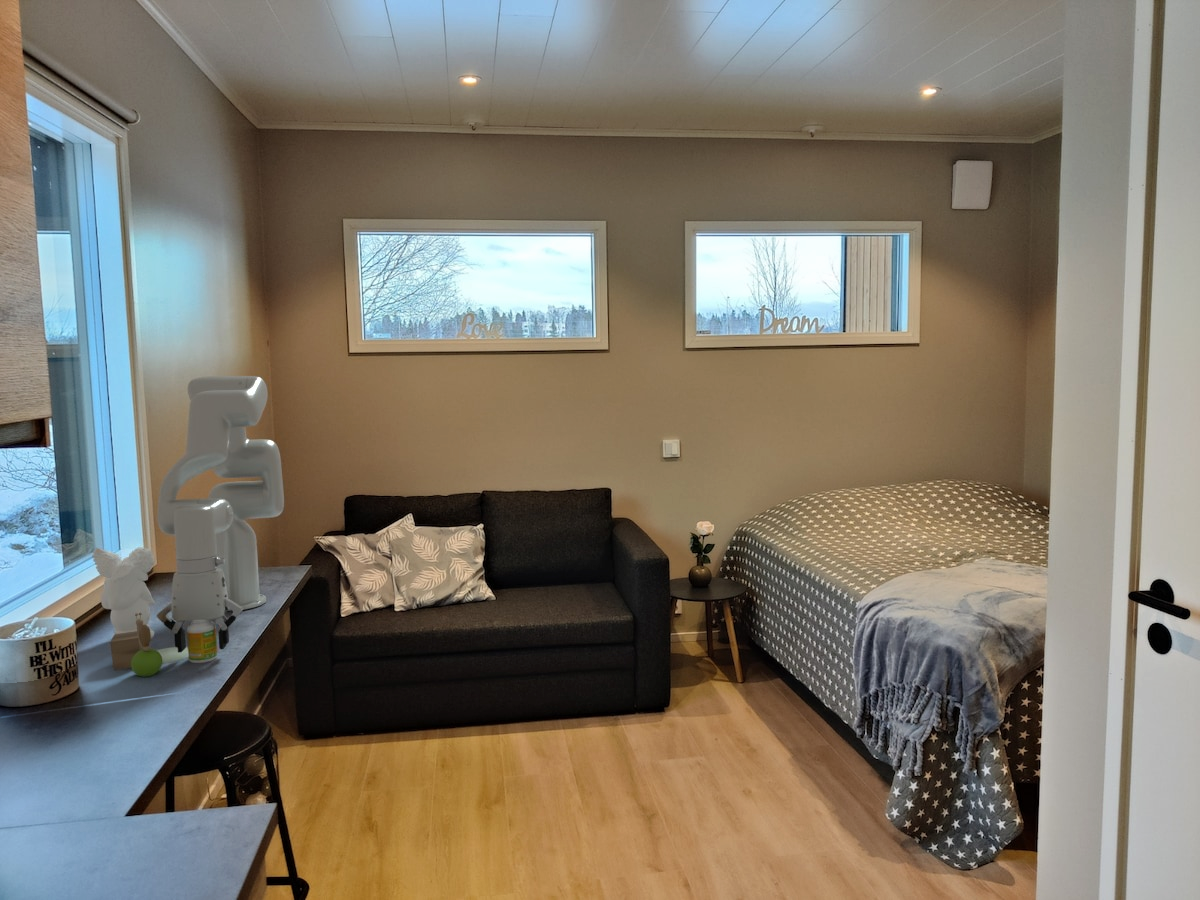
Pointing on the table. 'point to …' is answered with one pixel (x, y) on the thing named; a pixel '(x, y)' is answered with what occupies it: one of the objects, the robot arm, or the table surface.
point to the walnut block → (124, 649)
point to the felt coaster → (173, 654)
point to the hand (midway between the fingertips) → (202, 648)
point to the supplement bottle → (202, 641)
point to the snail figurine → (145, 653)
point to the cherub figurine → (126, 587)
